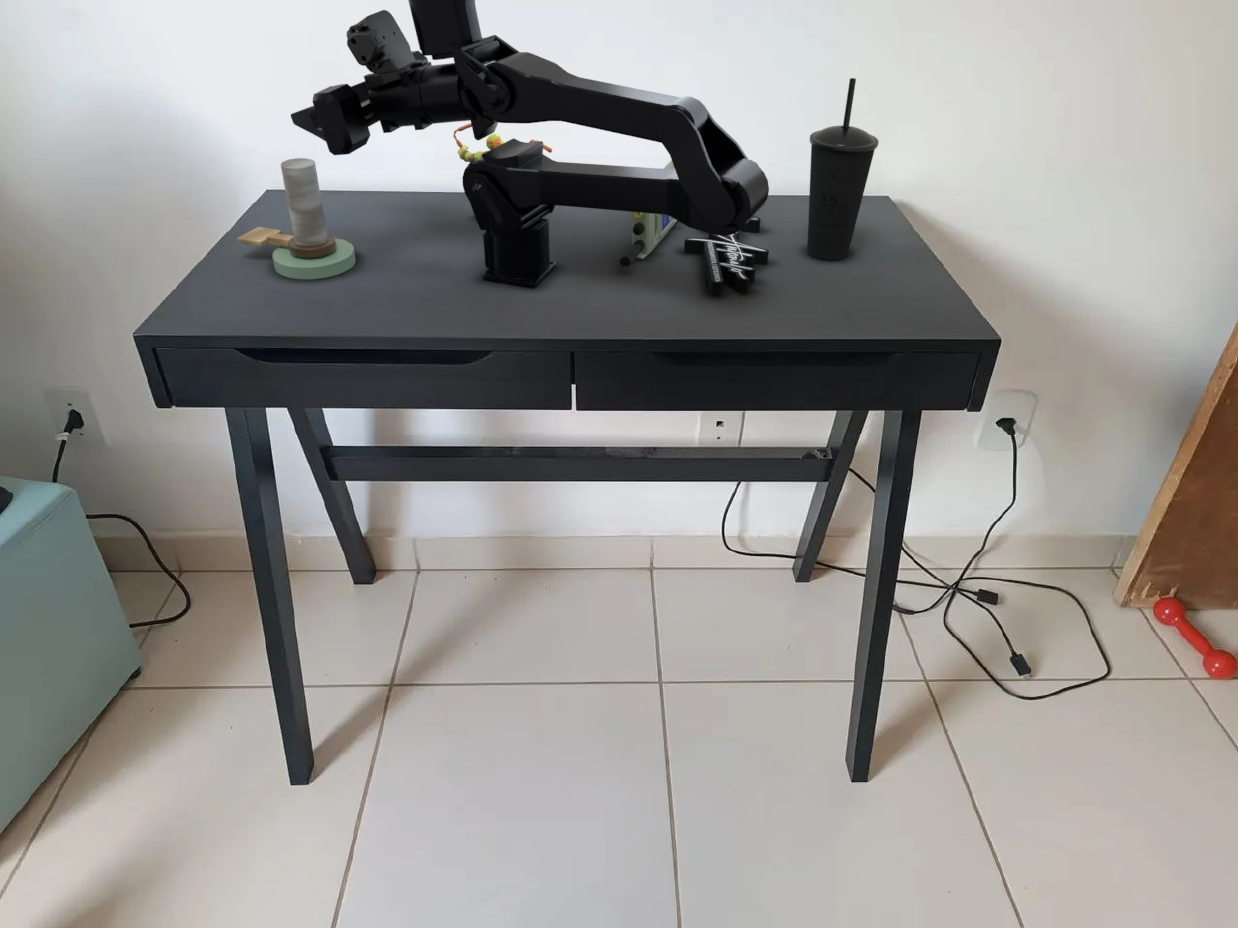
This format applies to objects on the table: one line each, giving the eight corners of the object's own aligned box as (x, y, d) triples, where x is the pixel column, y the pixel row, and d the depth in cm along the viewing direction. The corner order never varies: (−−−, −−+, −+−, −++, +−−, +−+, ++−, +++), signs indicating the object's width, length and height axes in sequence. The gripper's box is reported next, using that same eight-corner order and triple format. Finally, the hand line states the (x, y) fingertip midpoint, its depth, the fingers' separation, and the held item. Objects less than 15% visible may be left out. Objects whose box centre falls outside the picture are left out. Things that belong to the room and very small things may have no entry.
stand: (370, 255, 111) (368, 243, 110) (327, 284, 104) (324, 272, 103) (304, 244, 114) (302, 232, 113) (258, 272, 107) (255, 260, 106)
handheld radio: (695, 205, 127) (639, 274, 108) (672, 203, 128) (612, 271, 109) (697, 155, 124) (638, 217, 104) (672, 153, 125) (610, 215, 105)
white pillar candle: (345, 244, 109) (332, 159, 104) (319, 260, 105) (304, 173, 100) (262, 231, 112) (245, 147, 107) (234, 246, 108) (215, 160, 103)
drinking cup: (796, 239, 118) (818, 69, 106) (859, 244, 117) (888, 73, 105) (793, 262, 112) (816, 84, 100) (859, 268, 110) (889, 89, 99)
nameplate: (677, 197, 125) (753, 198, 125) (677, 208, 126) (752, 209, 126) (691, 282, 103) (783, 283, 103) (690, 295, 104) (781, 296, 104)
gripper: (457, -6, 103) (341, 12, 109) (361, 33, 89) (235, 51, 95) (482, 100, 109) (371, 111, 115) (397, 152, 95) (275, 161, 101)
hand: (317, 107), depth 106 cm, fingers open, 9 cm apart
